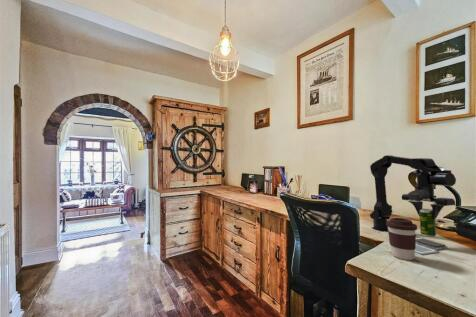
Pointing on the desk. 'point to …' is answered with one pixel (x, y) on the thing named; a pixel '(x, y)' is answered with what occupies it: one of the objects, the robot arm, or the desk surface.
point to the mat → (424, 250)
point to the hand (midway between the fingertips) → (427, 217)
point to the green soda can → (427, 223)
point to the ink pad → (430, 244)
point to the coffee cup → (402, 238)
